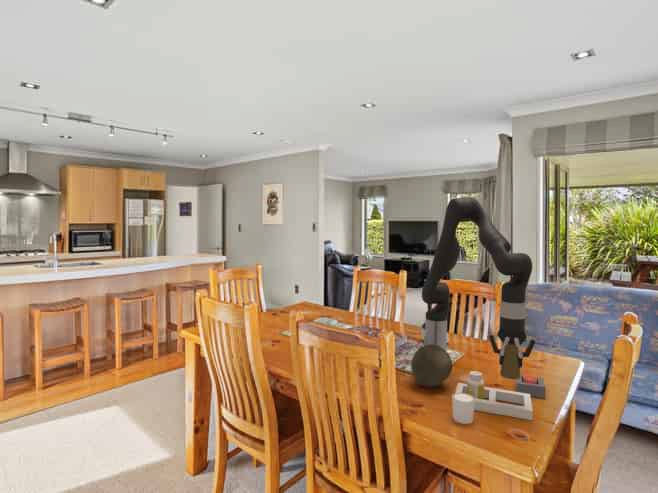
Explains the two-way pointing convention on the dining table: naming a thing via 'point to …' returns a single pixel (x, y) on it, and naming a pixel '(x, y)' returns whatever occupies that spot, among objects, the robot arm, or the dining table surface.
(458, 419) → the white cylinder
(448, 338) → the spread jar
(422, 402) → the dining table surface
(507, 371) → the olive gourd
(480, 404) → the window frame
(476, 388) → the supplement bottle
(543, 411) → the dining table surface
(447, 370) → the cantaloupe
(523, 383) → the button housing
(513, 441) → the dining table surface
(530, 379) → the button
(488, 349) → the dining table surface
